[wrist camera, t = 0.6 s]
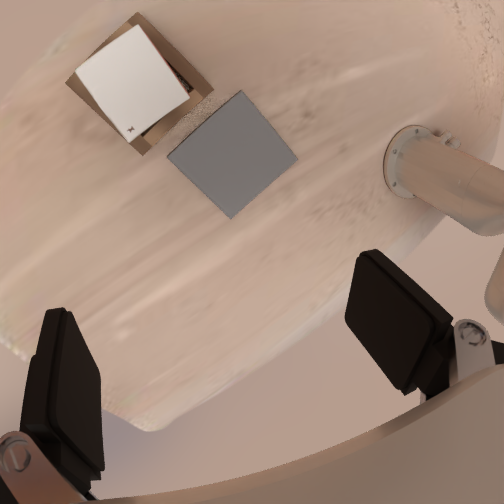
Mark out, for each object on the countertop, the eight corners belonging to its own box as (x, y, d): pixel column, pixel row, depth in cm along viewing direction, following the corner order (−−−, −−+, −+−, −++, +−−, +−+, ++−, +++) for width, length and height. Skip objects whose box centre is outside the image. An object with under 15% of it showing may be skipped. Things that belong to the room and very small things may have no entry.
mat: (240, 90, 36) (241, 90, 35) (296, 158, 42) (298, 159, 42) (166, 156, 37) (166, 157, 37) (229, 217, 44) (230, 219, 44)
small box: (181, 93, 34) (193, 99, 23) (136, 125, 34) (128, 146, 24) (144, 41, 29) (138, 21, 19) (98, 74, 30) (71, 71, 19)
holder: (139, 17, 28) (137, 11, 25) (209, 88, 35) (214, 89, 32) (72, 82, 29) (64, 82, 26) (143, 149, 36) (142, 155, 33)
